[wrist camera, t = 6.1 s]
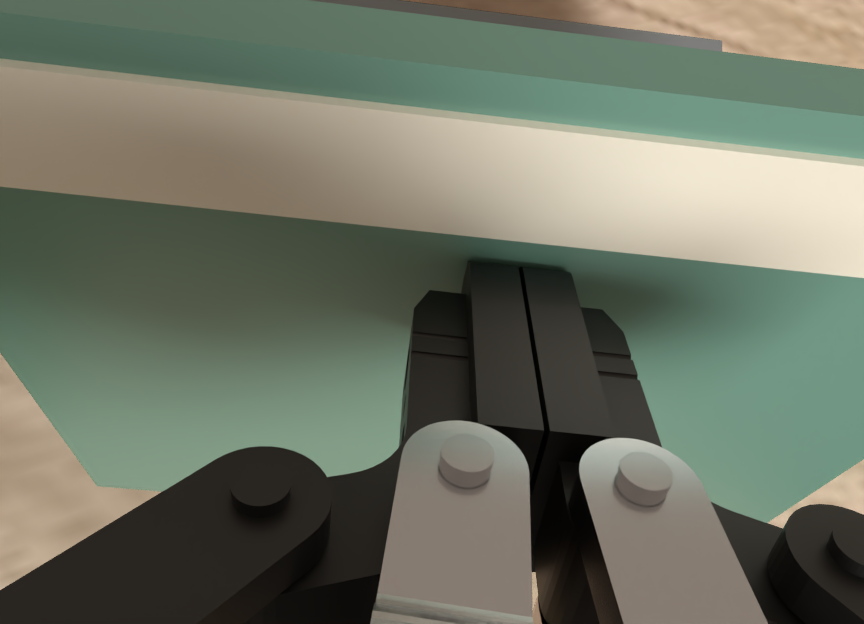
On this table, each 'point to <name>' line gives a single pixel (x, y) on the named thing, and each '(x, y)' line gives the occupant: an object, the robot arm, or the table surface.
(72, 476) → the table surface
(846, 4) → the table surface
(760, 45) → the table surface
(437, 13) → the storage box
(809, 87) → the lid
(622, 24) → the table surface
